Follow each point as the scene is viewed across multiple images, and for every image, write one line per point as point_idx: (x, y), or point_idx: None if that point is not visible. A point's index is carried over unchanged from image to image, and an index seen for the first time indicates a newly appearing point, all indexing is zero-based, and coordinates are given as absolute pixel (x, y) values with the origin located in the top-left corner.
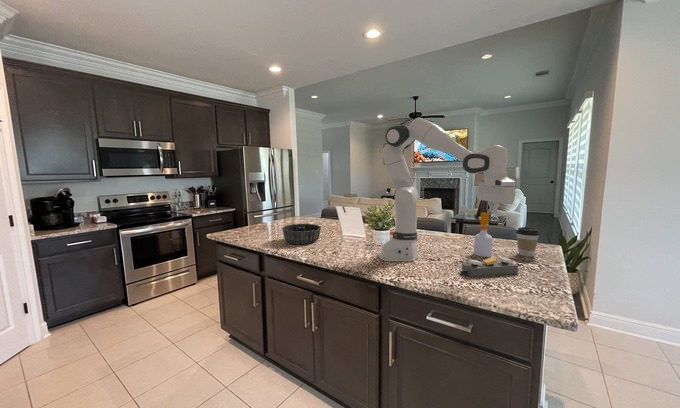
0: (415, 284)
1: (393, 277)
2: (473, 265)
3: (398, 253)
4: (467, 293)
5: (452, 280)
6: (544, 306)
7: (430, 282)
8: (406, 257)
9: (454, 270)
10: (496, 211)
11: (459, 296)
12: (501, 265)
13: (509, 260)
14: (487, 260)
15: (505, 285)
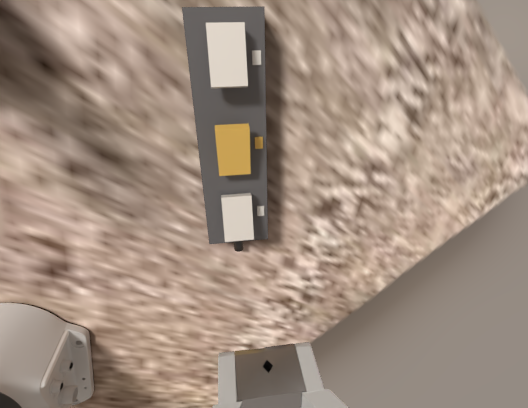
0: None
1: None
2: None
3: (77, 392)
4: (358, 281)
5: (274, 281)
6: (485, 151)
7: (275, 331)
8: (68, 352)
9: (191, 242)
10: (308, 348)
11: (365, 302)
12: (251, 99)
13: (245, 47)
14: (231, 161)
15: (347, 157)
